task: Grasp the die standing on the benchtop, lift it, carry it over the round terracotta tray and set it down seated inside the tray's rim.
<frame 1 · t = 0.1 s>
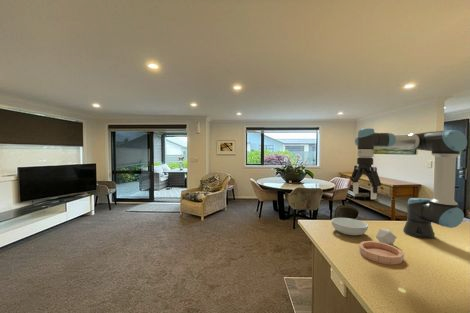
hand: (364, 196, 117), 28 cm above the table, fingers open, 13 cm apart
die: (385, 244, 122), on the table
serving bowl: (348, 233, 139), on the table
tray: (380, 255, 109), on the table
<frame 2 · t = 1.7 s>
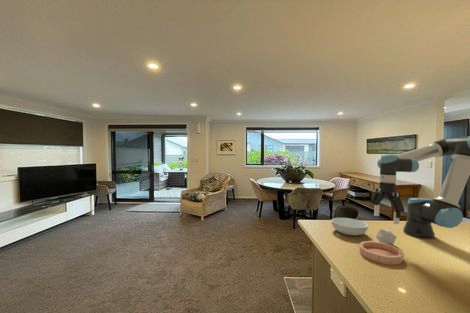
hand: (385, 219, 122), 14 cm above the table, fingers open, 13 cm apart
nothing on the table moved.
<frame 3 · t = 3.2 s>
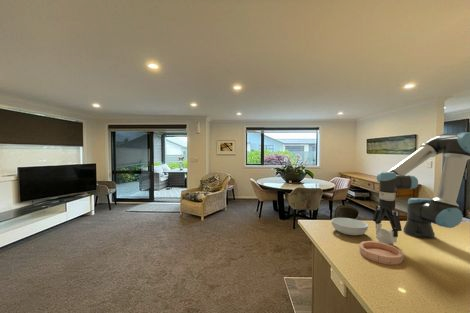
hand: (385, 238, 122), 3 cm above the table, fingers closed on die, 10 cm apart
die: (385, 244, 122), on the table, touching gripper
everything else where it was.
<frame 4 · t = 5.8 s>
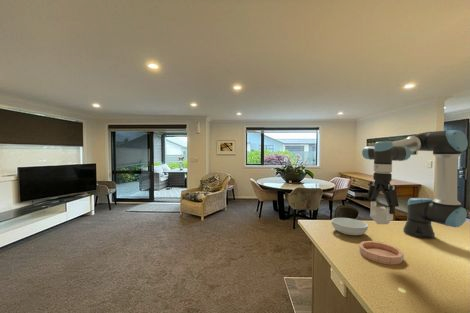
hand: (381, 216, 108), 20 cm above the table, fingers closed on die, 10 cm apart
die: (380, 223, 108), point 16 cm above the table, touching gripper
everything else where it was.
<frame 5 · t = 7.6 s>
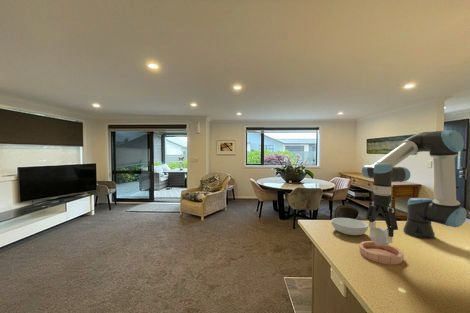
hand: (380, 238, 109), 9 cm above the table, fingers closed on die, 10 cm apart
die: (380, 245, 109), point 5 cm above the table, touching gripper
everything else where it was.
when the fingers open (6 cm above the table, at t = 8.8 s): die drops 1 cm, resting on tray.
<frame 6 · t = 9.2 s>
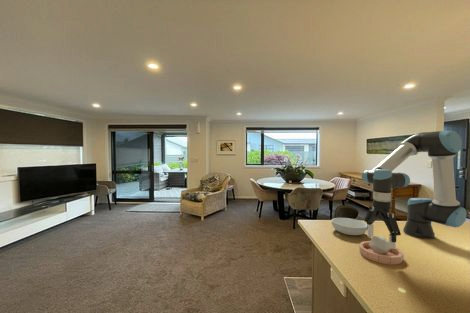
hand: (380, 242, 109), 7 cm above the table, fingers open, 13 cm apart
die: (379, 253, 109), point 1 cm above the table, touching tray
everything else where it was.
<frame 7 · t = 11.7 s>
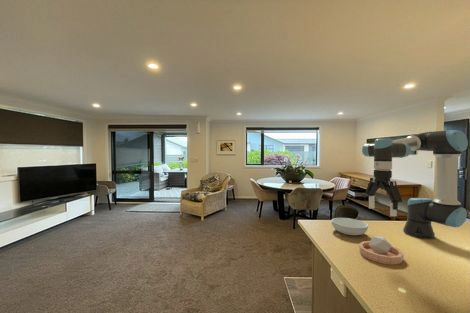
hand: (381, 211, 108), 22 cm above the table, fingers open, 13 cm apart
nothing on the table moved.
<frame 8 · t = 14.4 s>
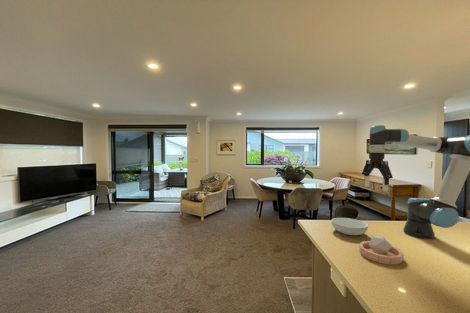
hand: (375, 188, 126), 31 cm above the table, fingers open, 13 cm apart
nothing on the table moved.
at the end: die inside the target area on the tray (0.3 cm from its centre), point 0.8 cm above the tray's base; die tilted 0°; the gripper is holding nothing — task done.
